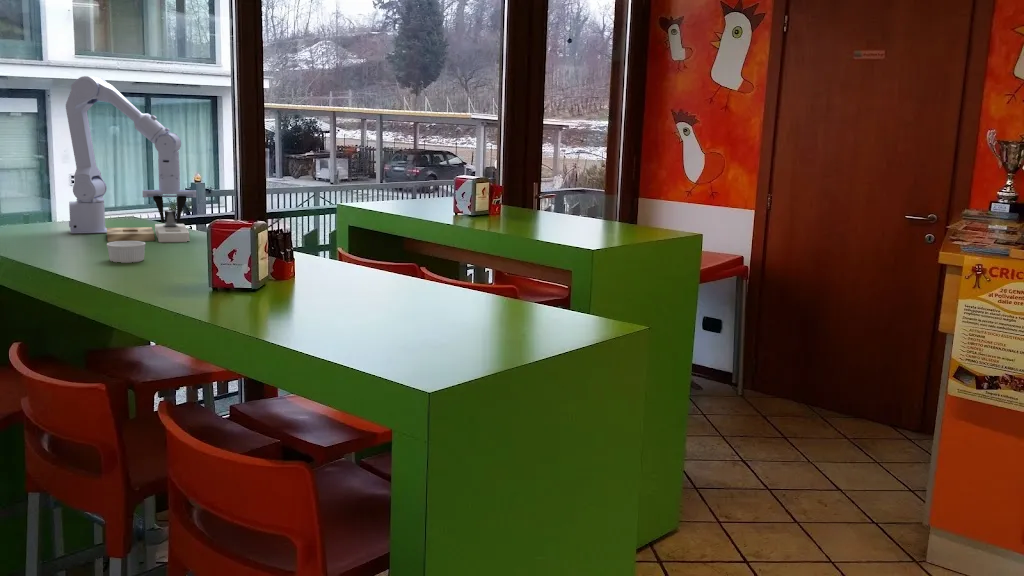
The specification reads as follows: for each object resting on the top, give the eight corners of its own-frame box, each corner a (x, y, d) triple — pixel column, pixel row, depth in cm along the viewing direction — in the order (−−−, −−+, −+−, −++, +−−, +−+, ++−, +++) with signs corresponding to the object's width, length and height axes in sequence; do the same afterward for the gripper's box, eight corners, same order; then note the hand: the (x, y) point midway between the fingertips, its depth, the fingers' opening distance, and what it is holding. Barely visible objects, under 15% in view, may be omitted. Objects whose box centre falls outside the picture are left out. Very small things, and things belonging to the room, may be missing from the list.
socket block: (107, 241, 249) (107, 234, 249) (107, 234, 260) (106, 227, 259) (154, 240, 254) (154, 233, 253) (152, 234, 265) (151, 227, 264)
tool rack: (159, 242, 252) (158, 233, 251) (155, 232, 268) (155, 224, 267) (189, 241, 255) (189, 233, 254) (183, 232, 271) (183, 223, 270)
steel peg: (165, 235, 263) (164, 211, 262) (165, 234, 266) (164, 210, 264) (176, 235, 264) (175, 211, 263) (176, 234, 267) (175, 210, 266)
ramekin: (107, 264, 219) (106, 246, 218) (107, 257, 227) (106, 240, 226) (147, 263, 223) (146, 245, 222) (145, 256, 231) (144, 240, 230)
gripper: (142, 176, 255) (144, 224, 258) (197, 176, 261) (198, 223, 264) (141, 174, 261) (143, 220, 264) (194, 174, 267) (195, 220, 270)
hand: (170, 222), depth 264 cm, fingers open, 4 cm apart
